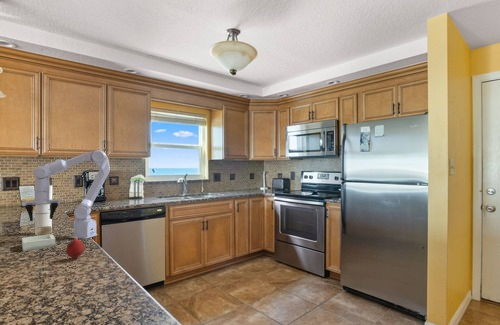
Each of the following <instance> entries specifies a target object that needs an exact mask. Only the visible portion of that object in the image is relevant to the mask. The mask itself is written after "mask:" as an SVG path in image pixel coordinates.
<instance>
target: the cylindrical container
mask: <svg viewBox="0 0 500 325" xmlns="http://www.w3.org/2000/svg"><path fill="white" fill-rule="evenodd" d="M49 200H53V185H52V184H50V192H49ZM37 204H41V203H37ZM34 206H35V208H34V210H35V212H34V214H35V218H34V220H35V221H34V236H37V234H38V227H45V226H51V227H52V228H53V218H52V219H50V204H43V205H34ZM52 232H53V230H52V231H51V234H53V233H52Z"/></svg>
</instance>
